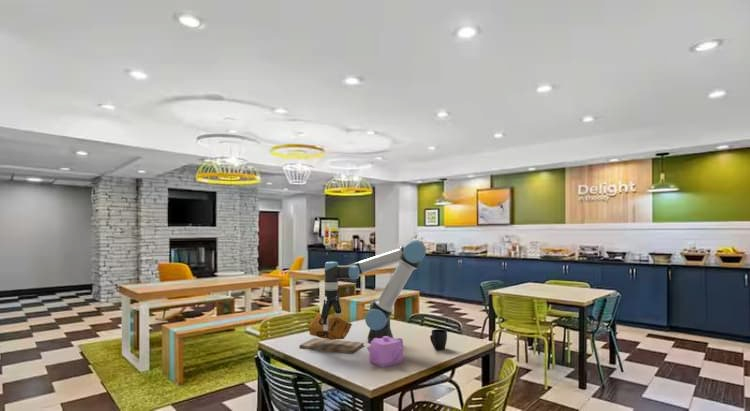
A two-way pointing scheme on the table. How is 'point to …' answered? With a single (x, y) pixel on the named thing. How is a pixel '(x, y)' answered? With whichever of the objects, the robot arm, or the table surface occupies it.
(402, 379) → the table surface
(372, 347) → the teakettle
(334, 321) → the coffee package
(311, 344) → the walnut board
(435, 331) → the mug
